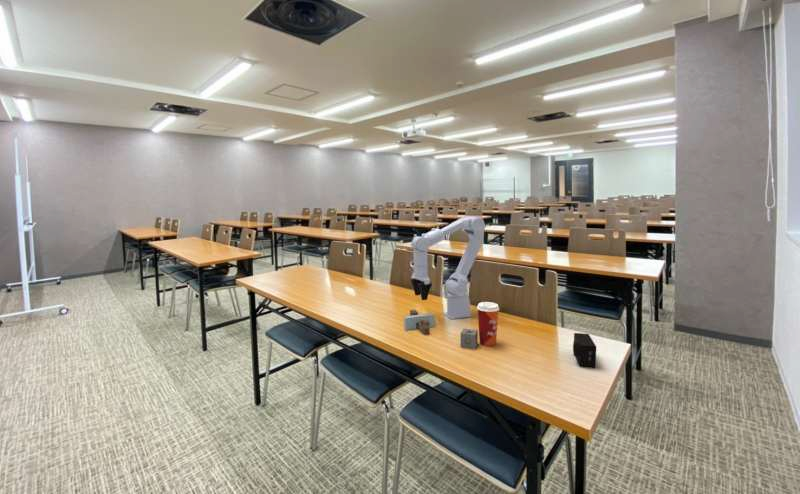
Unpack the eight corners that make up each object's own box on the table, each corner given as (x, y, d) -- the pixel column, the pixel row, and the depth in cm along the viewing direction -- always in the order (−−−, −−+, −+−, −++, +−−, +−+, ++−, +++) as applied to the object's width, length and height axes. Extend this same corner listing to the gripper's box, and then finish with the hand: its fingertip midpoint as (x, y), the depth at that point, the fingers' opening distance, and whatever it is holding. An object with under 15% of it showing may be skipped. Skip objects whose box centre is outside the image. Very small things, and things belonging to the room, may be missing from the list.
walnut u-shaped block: (410, 321, 152) (410, 310, 152) (414, 321, 153) (414, 309, 152) (424, 334, 137) (424, 322, 137) (429, 334, 138) (429, 321, 137)
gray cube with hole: (460, 347, 125) (460, 333, 125) (463, 341, 130) (463, 328, 129) (475, 349, 124) (475, 335, 123) (477, 343, 128) (477, 330, 128)
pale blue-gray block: (432, 324, 148) (432, 313, 147) (434, 326, 146) (434, 314, 145) (404, 328, 144) (404, 316, 143) (405, 330, 142) (405, 318, 142)
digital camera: (569, 352, 119) (570, 332, 119) (587, 354, 118) (588, 333, 117) (575, 366, 110) (576, 344, 109) (595, 368, 108) (596, 346, 107)
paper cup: (495, 349, 123) (495, 309, 121) (473, 344, 127) (473, 305, 125) (501, 341, 130) (502, 303, 128) (481, 337, 134) (481, 300, 132)
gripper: (405, 263, 156) (406, 294, 158) (417, 269, 143) (418, 303, 144) (421, 262, 158) (421, 292, 160) (434, 268, 145) (434, 301, 147)
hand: (421, 297), depth 152 cm, fingers open, 7 cm apart
